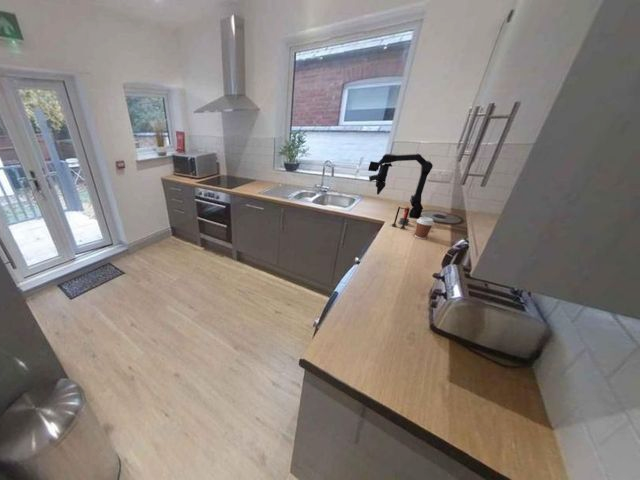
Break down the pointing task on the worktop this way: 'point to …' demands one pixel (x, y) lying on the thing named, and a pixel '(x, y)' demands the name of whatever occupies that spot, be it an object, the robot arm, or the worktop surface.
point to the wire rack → (397, 216)
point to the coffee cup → (423, 227)
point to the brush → (404, 218)
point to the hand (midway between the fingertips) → (377, 192)
